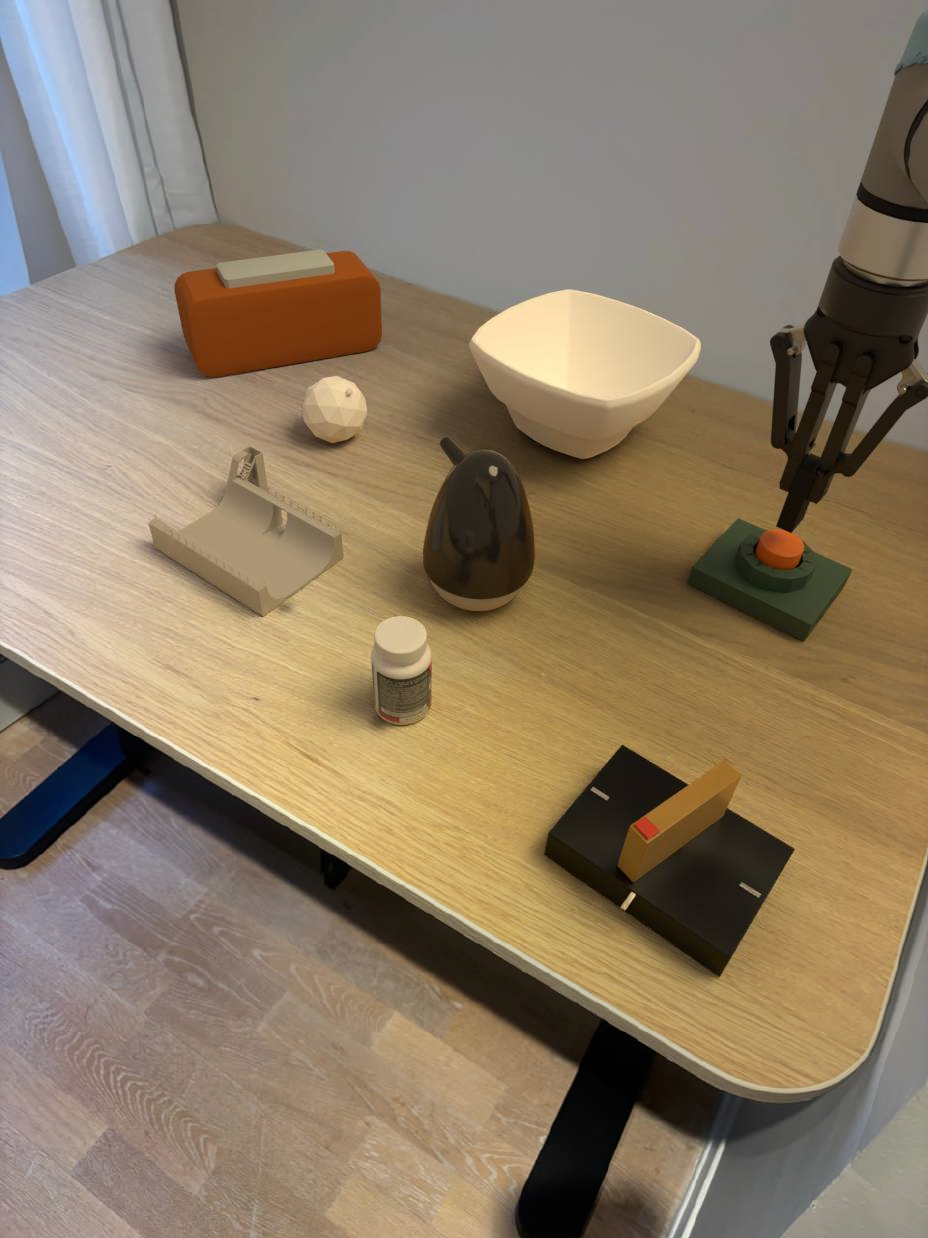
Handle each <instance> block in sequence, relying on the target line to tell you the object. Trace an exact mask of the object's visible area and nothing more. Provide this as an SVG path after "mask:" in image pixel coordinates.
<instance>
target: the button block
mask: <svg viewBox="0 0 928 1238" xmlns="http://www.w3.org/2000/svg"><path fill="white" fill-rule="evenodd" d="M768 530H769V529H764V528H762V527H760V526H757V525H755V524H753V523H751V522H749V521H746V520H744V519H742V518H739V517H737V519H735V520H734V521H733V523H731V525H730V526H729V527H728V528H727V529H726V530H725V531H724V532H723V533H722V534H721V536H720V537H718V539H716V541H715V542H714V543H713V544H712V545H711V546H710V548H708V549H707V550H706V551H705V552H704V553H703V555H702V556H701V557H700V558H699V559H698V560H697V561H696V562H695V563H694V564H693V565H692V566H691V569H690V572H689V576H688V580H687V583H686V584H687V585H689V586H691V587H693V588H695V589H697V590H699V591H701V592H703V593H705V594H707V595H709V596H711V597H713V598H715V599H717V600H720V601H721V602H723V603H725V604H727V605H730V606H731V607H733V608H736V609H738V610H739V611H741V612H744V613H745V614H747V615H750V616H751V617H753V618H755V619H757V620H760V621H761V622H763V623H766V624H768V625H770V626H771V627H773V628H775V629H777V630H780V631H782V632H784V633H786V634H788V635H790V636H792V637H794V638H796V639H798V640H799V641H802V642H806V641H807V639H808V638H809V636H810V635H811V634H812V632H813V631H814V629H815V628H816V627H817V625H818V624H819V622H820V621H821V619H822V618H823V616H824V615H825V614H826V613H827V611H828V610H829V608H830V607H831V606H832V604H833V603H834V601H835V600H836V599H837V597H838V596H839V594H840V593H841V592H842V591H843V589H844V588H845V587H846V585H847V582H848V581H849V578H850V576H851V574H852V571H853V568H851V567H850V566H846V565H845V564H842V563H841V562H837V561H835V560H834V559H832V558H829V557H827V556H825V555H822V554H820V553H818V552H815V551H814V549H812V548H811V547H810V546H809V545H808V544H807V543H806V542H805V541H804V540H802V542H803V544H804V551H803V553H802V556H801V558H800V561H799V563H798V565H797V566H796V567H795V568H793V569H790V570H781V569H774V568H772V567H770V566H768V565H765V564H763V563H762V562H761V561H760V560H759V559H758V558H757V556H756V548H757V546H758V543H759V540H760V537H761V535H762V534H763V533H764V532H766V531H768Z"/></svg>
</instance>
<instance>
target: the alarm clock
mask: <svg viewBox="0 0 928 1238" xmlns="http://www.w3.org/2000/svg"><path fill="white" fill-rule="evenodd" d="M215 266H216V267H213V268H205V269H198V270H189V271H186V272H183V273H181V274H180V275H179V276H178V277H177V278H176V279H175V282H174V287H173V289H174V290H173V291H174V296H175V301H176V306H177V310H178V316H179V320H180V325H181V330H182V331H181V332H182V336H183V339H184V341H185V343H186V345H187V348H188V350H189V352H190V354H191V356H192V360H193V361H194V364H195V366H196V368H197V370H198V371H199V372H200V373H201V374H202V375H203V376H206V377H208V378H220V377H221V378H222V377H226V376H232V375H237V374H244V373H249V372H255V371H260V370H267V369H272V368H279V367H284V366H289V365H290V366H291V365H296V364H302V363H307V362H313V361H318V360H319V361H320V360H324V359H330V358H336V357H343V356H347V355H353V354H359V353H365V352H369V351H372V350H374V349H375V348H376V347H378V345H379V344H380V343H381V340H382V334H383V332H382V331H383V328H382V323H383V322H382V299H381V298H382V294H381V293H382V291H381V285H380V282H379V280H378V279H377V278H376V276H375V275H374V274H373V273H372V272H371V271H370V269H369V268H368V267H367V266H366V264H364V262H363V261H362V260H361V259H360V257H359V256H358V255H357V254H356V253H354V252H353V251H351V250H340V251H339V250H338V251H332V252H326V251H325V250H324V249H314V250H305V251H298V252H290V253H282V254H276V255H267V256H261V257H253V258H245V259H239V260H237V259H236V260H231V261H222V262H217V263H216V265H215Z"/></svg>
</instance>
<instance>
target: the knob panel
mask: <svg viewBox="0 0 928 1238" xmlns="http://www.w3.org/2000/svg"><path fill="white" fill-rule="evenodd" d="M688 785H689V784H688V783H687V782H685V781H684V780H682V779H680V778H678V777H677V776H676V775H674V774H672V773H670V772H669V771H667V770H665V769H663V768H662V767H661V766H659V765H657V764H655V763H654V762H652V761H650V760H649V759H647V758H645V757H644V756H642V755H641V754H639V753H638V752H635V751H634V750H633V749H630V748H629V747H628V746H625V745H624V744H621V745H620V746H619V747H618V748H617V749H616V751H615V752H614V753H613V754H612V756H611V757H610V758H609V760H608V761H607V762H606V763H605V764H604V766H603V767H602V768H601V769H600V770H599V771H598V772H597V774H596V775H595V776H594V777H593V779H592V780H591V781H590V782H589V783H588V784H587V786H586V787H585V788H584V789H583V790H582V792H581V793H580V794H579V795H578V796H577V798H576V799H575V800H574V801H573V803H571V805H570V806H569V807H568V809H567V810H566V811H565V812H564V813H563V814H562V816H561V817H560V818H559V819H558V820H557V822H556V823H555V824H554V825H553V827H551V829H550V830H549V831H548V833H547V837H546V842H545V847H544V852H543V855H544V856H545V857H546V858H547V859H549V860H550V861H552V862H553V863H555V864H557V865H558V866H559V867H560V868H562V869H563V870H565V871H566V872H567V873H569V874H571V875H572V876H573V877H575V878H576V879H577V880H579V881H580V882H582V883H583V884H585V885H586V886H588V887H589V888H591V889H592V890H593V891H595V892H596V893H598V894H599V895H600V896H602V897H604V898H605V899H606V900H608V901H609V902H611V903H612V904H614V905H615V906H616V907H618V908H619V909H621V910H622V911H623V912H625V913H626V914H628V915H629V916H631V917H632V918H633V919H635V920H637V921H638V922H639V923H641V924H642V925H643V926H645V927H647V928H648V929H649V930H651V931H652V932H654V933H655V934H656V935H658V936H659V937H661V938H662V939H664V940H665V941H667V943H670V944H671V945H672V946H674V947H675V948H676V949H678V950H679V951H681V952H682V953H684V954H685V955H686V956H688V957H689V958H691V959H692V960H694V961H695V962H696V963H698V964H699V965H701V966H702V967H704V968H705V969H707V970H708V971H710V972H711V973H712V974H714V975H715V976H717V977H718V978H720V977H721V976H722V975H723V973H724V971H725V969H726V968H727V966H728V964H729V962H730V961H731V959H732V957H733V955H734V954H735V953H736V951H737V949H738V948H739V946H740V944H741V942H742V940H743V939H744V937H745V936H746V933H747V932H748V930H749V929H750V927H751V925H752V923H753V922H754V920H755V918H756V917H757V915H758V913H759V911H760V910H761V908H762V906H763V904H764V903H765V901H766V900H767V898H768V896H769V895H770V893H771V891H772V890H773V888H774V886H775V885H776V882H777V881H778V880H779V878H780V876H781V875H782V872H783V871H784V869H785V867H786V865H787V864H788V862H789V860H790V859H791V857H792V855H793V853H794V852H795V850H796V849H795V847H793V846H791V845H790V844H788V843H786V842H784V841H783V840H781V839H780V838H778V837H776V836H775V835H774V834H771V833H769V832H768V831H766V830H765V829H763V828H761V827H759V826H758V825H757V824H755V823H753V822H751V821H750V820H748V819H746V818H745V817H743V816H741V815H740V814H738V813H737V812H735V811H733V810H731V809H730V808H728V807H727V809H726V811H725V814H724V816H723V817H722V818H720V819H719V820H718V821H716V822H715V823H714V824H712V825H711V826H710V827H708V828H707V829H705V830H704V831H703V832H701V833H700V834H699V835H697V836H696V837H695V838H693V839H692V840H691V841H689V842H688V843H687V844H685V845H684V846H682V847H681V848H680V849H678V850H677V851H676V852H674V853H673V854H672V855H670V856H669V857H668V858H666V859H665V860H664V861H662V862H661V863H660V864H658V865H657V866H655V867H654V868H653V869H651V870H650V871H649V872H647V873H646V874H645V875H643V876H642V877H641V878H639V879H638V880H637V881H635V882H632V881H631V880H630V879H629V878H628V876H627V875H626V874H625V873H624V872H623V871H622V870H621V869H620V868H619V867H618V862H619V859H620V855H621V852H622V849H623V846H624V843H625V840H626V837H627V833H628V830H629V827H630V825H632V824H633V823H635V822H636V821H638V820H639V819H640V818H642V817H643V816H645V815H646V814H648V813H649V812H650V811H652V810H653V809H655V808H656V807H658V806H659V805H660V804H662V803H663V802H665V801H666V800H668V799H669V798H671V797H672V796H673V795H675V794H676V793H678V792H679V791H681V790H682V789H683V788H685V787H686V786H688Z"/></svg>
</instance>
